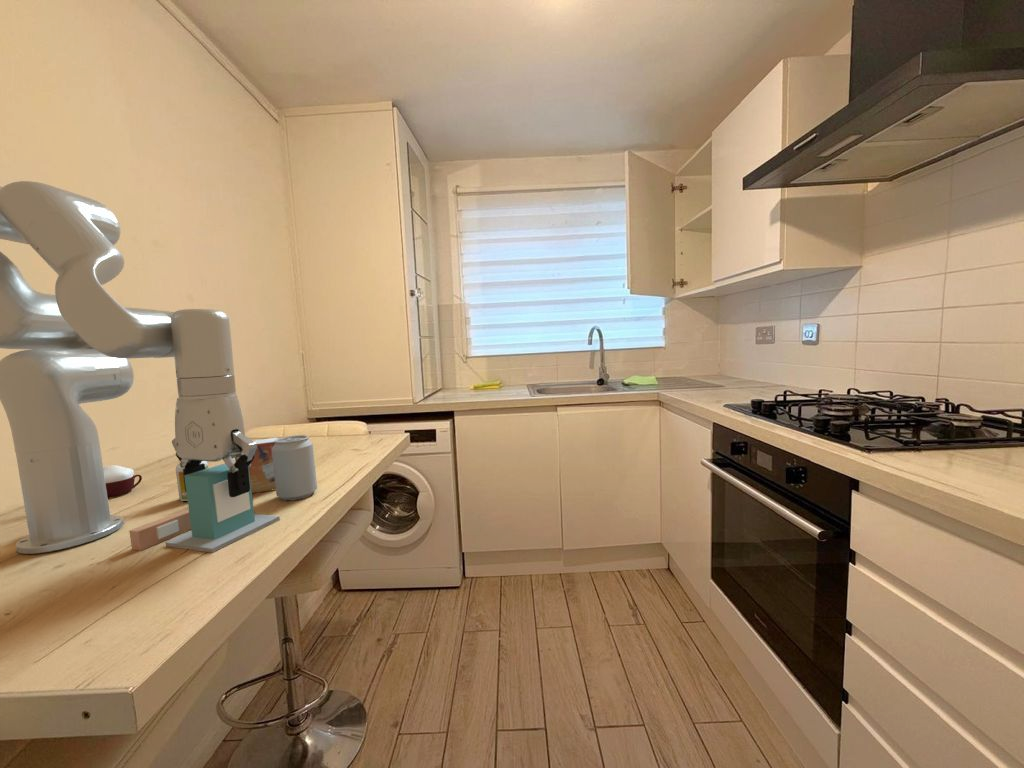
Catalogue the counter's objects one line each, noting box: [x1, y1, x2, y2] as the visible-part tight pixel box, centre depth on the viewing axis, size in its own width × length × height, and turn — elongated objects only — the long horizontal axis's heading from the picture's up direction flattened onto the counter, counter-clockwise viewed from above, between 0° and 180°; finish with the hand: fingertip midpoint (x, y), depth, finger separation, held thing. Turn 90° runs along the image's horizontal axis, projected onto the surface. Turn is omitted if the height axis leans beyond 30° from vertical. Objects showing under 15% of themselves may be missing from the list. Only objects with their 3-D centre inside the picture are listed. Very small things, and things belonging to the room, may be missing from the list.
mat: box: [165, 513, 281, 554], centre depth 70 cm, size 10×12×1 cm
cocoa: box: [103, 465, 143, 498], centre depth 94 cm, size 10×6×12 cm, turn 128°
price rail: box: [128, 508, 191, 551], centre depth 73 cm, size 2×16×3 cm, turn 162°
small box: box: [234, 436, 279, 494], centre depth 92 cm, size 8×6×10 cm
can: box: [271, 434, 318, 501], centre depth 86 cm, size 8×8×12 cm
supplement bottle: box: [175, 459, 209, 502], centre depth 89 cm, size 5×5×10 cm
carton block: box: [184, 463, 255, 540], centre depth 70 cm, size 7×5×10 cm
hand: (217, 491), depth 70 cm, fingers open, 9 cm apart
